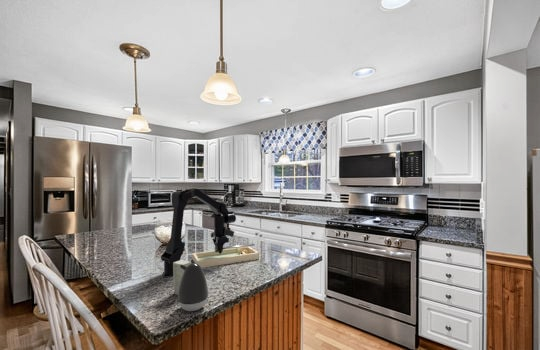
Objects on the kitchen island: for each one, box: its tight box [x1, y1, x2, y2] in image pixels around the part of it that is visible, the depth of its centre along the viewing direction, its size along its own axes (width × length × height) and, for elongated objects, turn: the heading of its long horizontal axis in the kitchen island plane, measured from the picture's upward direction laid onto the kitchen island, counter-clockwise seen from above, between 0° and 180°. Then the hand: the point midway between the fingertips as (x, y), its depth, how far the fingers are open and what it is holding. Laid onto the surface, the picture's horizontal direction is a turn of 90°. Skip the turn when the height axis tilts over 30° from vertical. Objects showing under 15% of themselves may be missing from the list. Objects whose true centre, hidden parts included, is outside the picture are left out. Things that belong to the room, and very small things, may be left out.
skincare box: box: [172, 259, 192, 295], centre depth 99 cm, size 6×4×12 cm
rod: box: [214, 243, 256, 255], centre depth 146 cm, size 3×24×6 cm, turn 115°
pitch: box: [192, 246, 260, 269], centre depth 142 cm, size 16×34×4 cm, turn 115°
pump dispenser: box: [177, 262, 209, 312], centre depth 87 cm, size 10×10×15 cm
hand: (219, 252), depth 142 cm, fingers open, 4 cm apart
